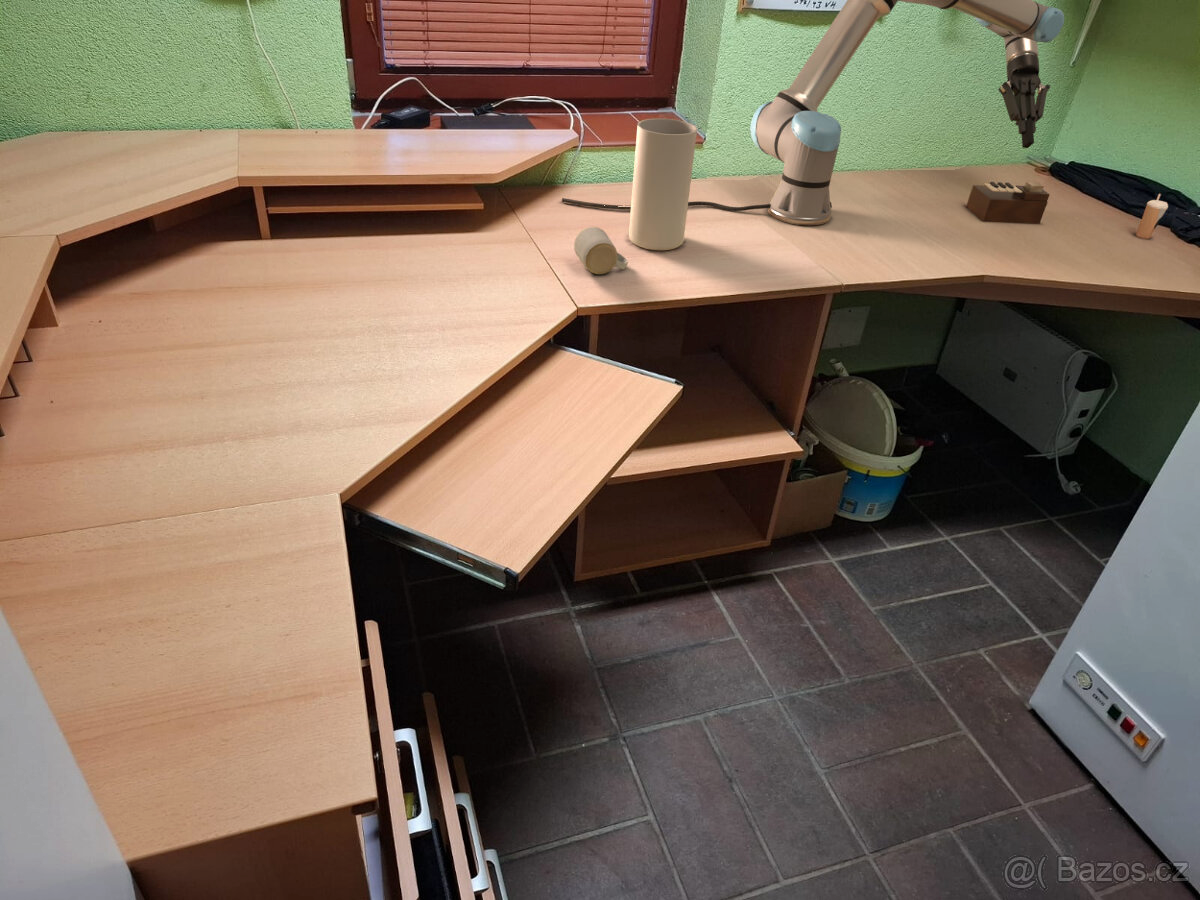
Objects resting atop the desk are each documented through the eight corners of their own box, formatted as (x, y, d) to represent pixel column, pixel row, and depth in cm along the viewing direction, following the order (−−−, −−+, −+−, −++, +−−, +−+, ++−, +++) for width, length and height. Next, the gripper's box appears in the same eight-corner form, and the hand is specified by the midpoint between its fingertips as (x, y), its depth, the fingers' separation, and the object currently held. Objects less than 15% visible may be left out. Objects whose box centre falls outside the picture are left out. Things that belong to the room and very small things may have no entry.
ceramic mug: (585, 278, 166) (587, 242, 161) (572, 262, 172) (574, 227, 167) (632, 274, 169) (636, 239, 165) (619, 258, 175) (622, 224, 171)
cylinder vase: (694, 242, 185) (709, 128, 170) (660, 256, 177) (672, 138, 162) (651, 226, 191) (662, 115, 177) (617, 239, 184) (625, 124, 169)
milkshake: (1151, 234, 207) (1170, 195, 201) (1153, 241, 203) (1172, 201, 197) (1132, 230, 208) (1149, 192, 202) (1133, 237, 204) (1151, 198, 198)
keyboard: (992, 191, 204) (993, 188, 203) (983, 184, 208) (984, 181, 207) (1022, 192, 204) (1023, 189, 204) (1012, 185, 208) (1014, 182, 208)
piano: (983, 221, 208) (993, 192, 203) (965, 206, 216) (975, 178, 212) (1039, 223, 209) (1050, 194, 204) (1020, 208, 217) (1030, 180, 213)
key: (1028, 193, 206) (1031, 185, 204) (1023, 189, 208) (1026, 181, 207) (1041, 193, 206) (1044, 186, 205) (1035, 189, 208) (1038, 182, 207)
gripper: (1037, 71, 217) (1043, 153, 213) (990, 69, 216) (995, 151, 213) (1054, 54, 210) (1061, 138, 206) (1006, 51, 209) (1012, 136, 205)
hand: (1028, 145), depth 209 cm, fingers closed
